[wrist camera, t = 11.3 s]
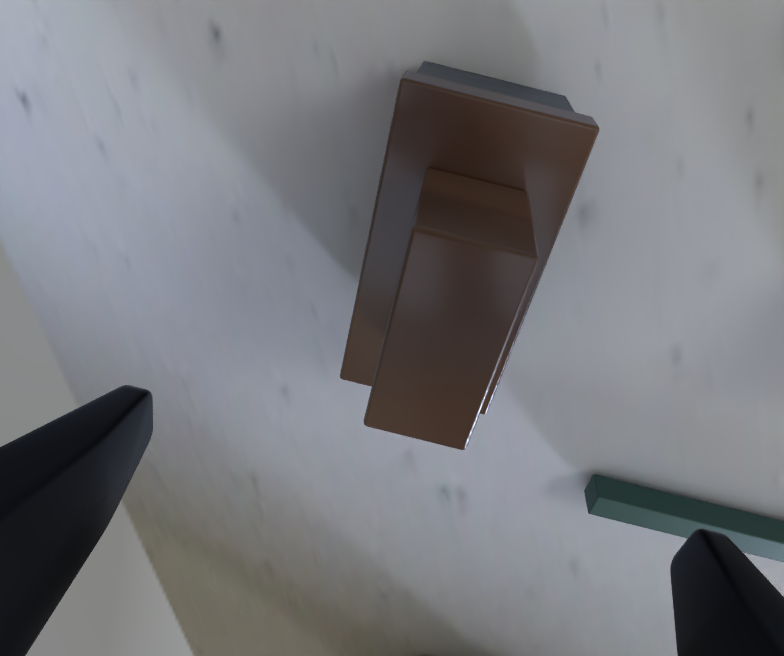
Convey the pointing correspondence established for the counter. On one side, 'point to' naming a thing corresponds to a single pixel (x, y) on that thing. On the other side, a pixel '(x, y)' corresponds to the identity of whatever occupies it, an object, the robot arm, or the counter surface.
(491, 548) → the counter surface
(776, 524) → the frame
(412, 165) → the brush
